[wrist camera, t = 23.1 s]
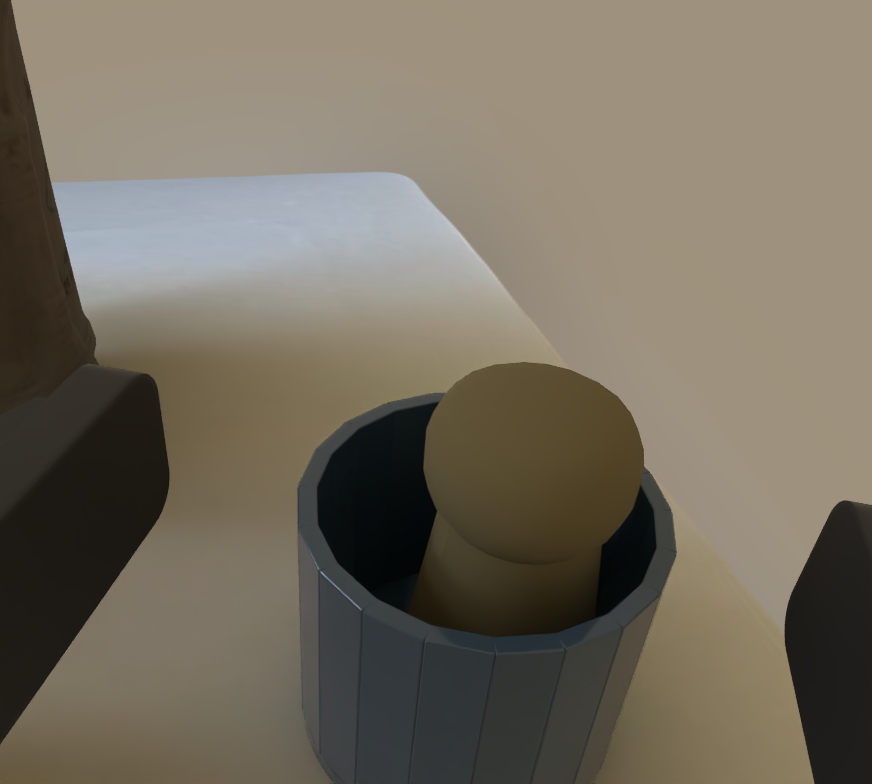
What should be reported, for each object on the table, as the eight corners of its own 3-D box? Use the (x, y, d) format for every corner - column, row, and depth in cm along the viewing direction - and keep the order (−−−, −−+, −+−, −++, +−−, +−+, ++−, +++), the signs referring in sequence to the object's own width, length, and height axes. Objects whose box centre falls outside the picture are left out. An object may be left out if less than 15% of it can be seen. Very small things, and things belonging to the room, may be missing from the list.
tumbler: (240, 675, 25) (221, 479, 20) (455, 534, 31) (478, 358, 26) (459, 931, 19) (500, 741, 15) (670, 701, 25) (745, 515, 21)
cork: (559, 610, 27) (628, 330, 21) (611, 781, 22) (722, 482, 16) (381, 617, 26) (399, 328, 20) (396, 797, 21) (424, 488, 15)
